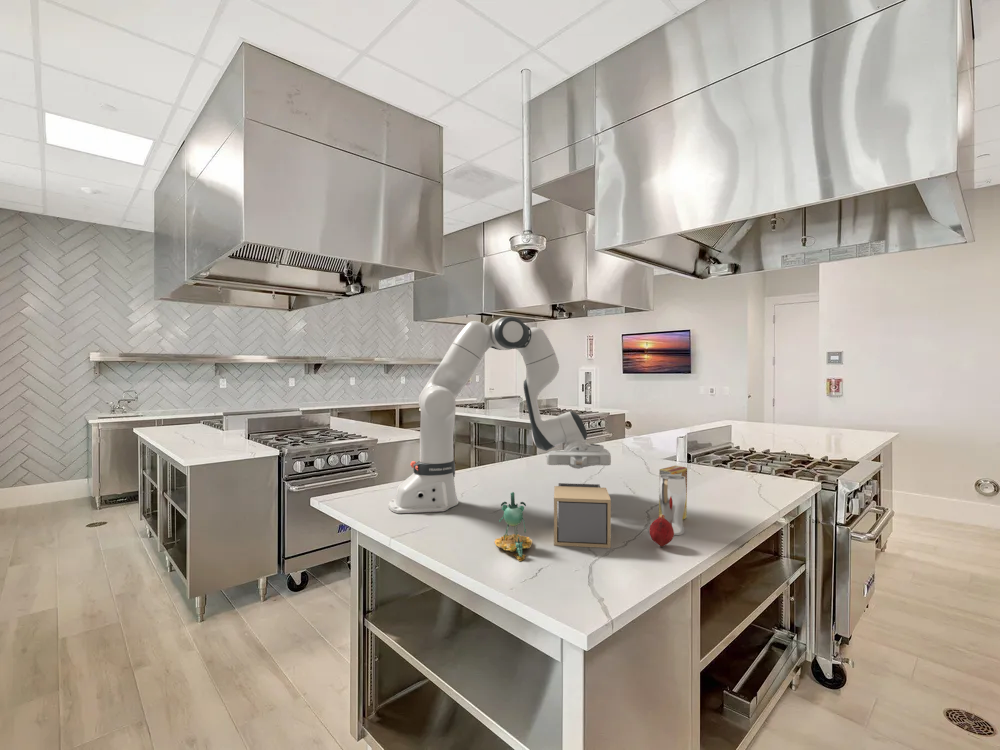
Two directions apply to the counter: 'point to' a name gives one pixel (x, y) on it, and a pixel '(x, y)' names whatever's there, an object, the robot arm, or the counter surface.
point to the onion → (661, 531)
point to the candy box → (676, 471)
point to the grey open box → (581, 519)
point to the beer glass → (673, 500)
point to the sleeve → (583, 496)
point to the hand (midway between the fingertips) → (579, 463)
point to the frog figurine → (514, 518)
